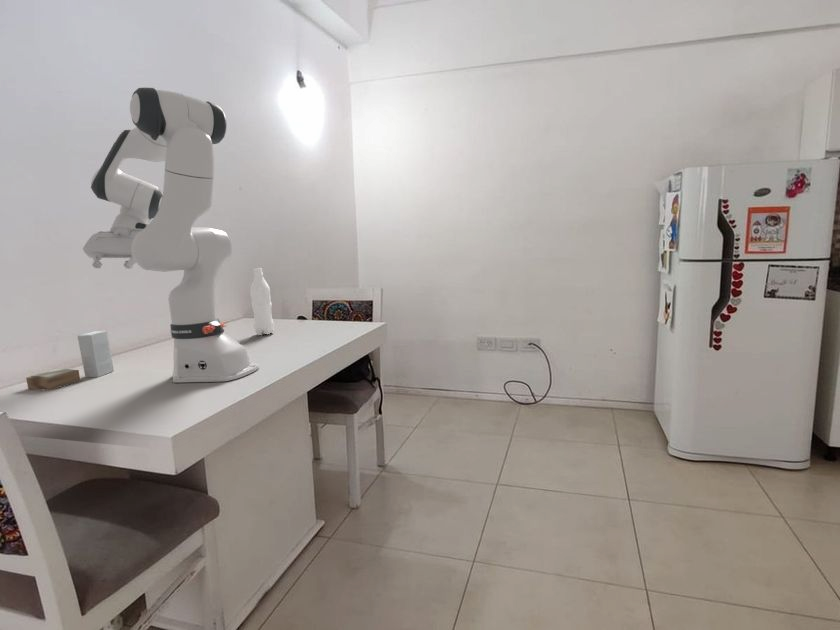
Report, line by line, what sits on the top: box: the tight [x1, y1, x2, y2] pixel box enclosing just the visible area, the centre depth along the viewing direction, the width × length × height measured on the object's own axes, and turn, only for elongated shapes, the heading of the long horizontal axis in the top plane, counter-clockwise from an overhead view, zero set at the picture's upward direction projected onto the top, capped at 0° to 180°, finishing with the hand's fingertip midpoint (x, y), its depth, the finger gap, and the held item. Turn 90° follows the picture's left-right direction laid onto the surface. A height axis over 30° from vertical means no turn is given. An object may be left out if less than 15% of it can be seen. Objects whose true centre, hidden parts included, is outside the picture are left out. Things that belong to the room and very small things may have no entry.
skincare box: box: [77, 330, 115, 378], centre depth 136 cm, size 6×4×12 cm
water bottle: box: [249, 267, 275, 336], centre depth 181 cm, size 7×7×25 cm
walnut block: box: [25, 368, 81, 391], centre depth 128 cm, size 8×8×3 cm
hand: (111, 267), depth 143 cm, fingers open, 8 cm apart
